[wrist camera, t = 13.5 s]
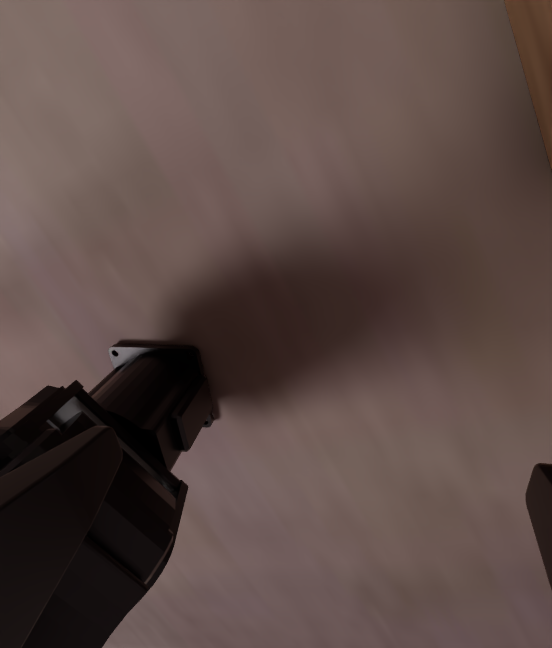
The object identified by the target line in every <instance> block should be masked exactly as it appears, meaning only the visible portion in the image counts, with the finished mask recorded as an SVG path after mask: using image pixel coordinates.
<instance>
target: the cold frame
mask: <svg viewBox="0 0 552 648" xmlns="http://www.w3.org/2000/svg"><path fill="white" fill-rule="evenodd" d="M504 2H505V5H506V9H507V12H508V16H509V20H510V23H511V27H512V30H513V34H514V37H515V41H516V45H517V48H518V52H519V55H520V59H521V62H522V66H523V70H524V73H525V77H526V80H527V84H528V87H529V91H530V95H531V98H532V102H533V105H534V109H535V112H536V116H537V120H538V123H539V127H540V130H541V134H542V137H543V141H544V145H545V148H546V152H547V155H548V159H549V162H550V166H551V170H552V0H504Z"/></svg>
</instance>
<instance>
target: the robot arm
mask: <svg viewBox="0 0 552 648" xmlns="http://www.w3.org/2000/svg"><path fill="white" fill-rule="evenodd" d="M115 350H116V351H117V352H118V353H117V352H116V351H115ZM108 352H109V355H110V358H111V361H112V364H113V367H114V370H113V371H112V372H111V373H110V374H109V375H107V376H106V377H105V378H104V379H103V380H102V381H101V382H100V383H99V384H98V385H97V386H96V387H94V388H93V389H92V390H91V391H90V392H89V393H87V392H86V391H85V390H84V389H83V386H82V385H81V384H80V383H79V382H78V381H77V380H75V381H74V382H73V383H72V384H71V385H69V386H68V387H67V388H66V389H65V388H64V387H63V386H62V387H60V388H57V387H53V386H46V387H45V388H44V389H42V390H41V391H40V392H38V393H37V394H36V395H35V396H33V397H32V398H31V399H29V400H28V401H27V402H25V403H24V404H23V405H21V406H20V407H19V408H17V409H16V410H15V411H13V412H12V413H10V414H9V415H7V416H6V417H5V418H3V419H2V420H0V648H102V647H103V645H104V644H105V642H106V641H107V639H108V638H109V636H110V635H111V634H112V632H113V631H114V630H115V628H116V627H117V626H118V625H119V623H120V622H121V621H122V620H123V618H124V617H125V616H126V614H127V613H128V612H129V611H130V610H131V609H132V608H133V607H134V606H135V605H136V604H137V603H138V602H139V601H140V600H141V599H142V597H143V596H144V595H145V594H146V593H147V592H148V590H149V589H150V588H151V587H152V586H153V584H154V583H155V582H156V580H157V579H158V577H159V576H160V575H161V573H162V571H163V569H164V568H165V566H166V564H167V562H168V560H169V558H170V556H171V553H172V550H173V547H174V544H175V540H176V535H177V531H178V527H179V523H180V519H181V515H182V511H183V507H184V502H185V498H186V494H187V490H188V485H187V484H185V483H184V482H183V481H182V480H179V479H178V478H177V477H176V476H175V475H173V474H172V473H171V472H170V471H171V469H172V468H173V466H174V464H175V462H176V461H177V459H178V457H179V455H180V454H181V452H182V451H183V452H187V451H188V450H189V449H190V448H191V446H192V444H193V443H194V441H195V439H196V437H197V435H198V434H199V432H200V430H201V428H202V427H210V426H211V425H212V423H213V421H214V418H213V414H212V408H213V405H212V400H211V395H210V390H209V386H208V381H207V378H206V377H205V376H204V372H203V367H202V363H201V358H200V353H199V351H198V349H197V348H196V347H194V346H178V345H134V344H114V345H113V346H112V347H111V348H109V351H108ZM189 352H190V353H192V354H193V356H192V355H190V354H189ZM206 420H207V421H206ZM526 505H527V509H528V512H529V516H530V519H531V522H532V526H533V529H534V533H535V536H536V539H537V543H538V546H539V549H540V553H541V556H542V560H543V563H544V566H545V570H546V573H547V577H548V580H549V583H550V586H551V589H552V464H546V463H538V464H536V465H535V466H534V468H533V471H532V474H531V478H530V481H529V484H528V487H527V491H526Z"/></svg>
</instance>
